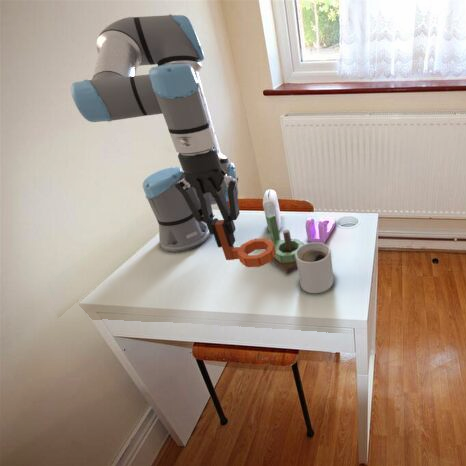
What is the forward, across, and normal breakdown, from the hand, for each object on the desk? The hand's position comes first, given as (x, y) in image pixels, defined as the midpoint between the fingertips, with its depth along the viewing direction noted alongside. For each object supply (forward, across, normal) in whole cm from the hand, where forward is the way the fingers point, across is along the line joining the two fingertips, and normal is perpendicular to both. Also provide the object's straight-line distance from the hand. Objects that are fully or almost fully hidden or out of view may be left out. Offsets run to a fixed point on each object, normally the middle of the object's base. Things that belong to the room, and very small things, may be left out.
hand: (226, 243), depth 79 cm
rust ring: (+4, +5, 0) cm, 7 cm away
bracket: (+15, +20, +26) cm, 36 cm away
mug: (+14, +21, +2) cm, 25 cm away
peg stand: (+14, +12, +12) cm, 22 cm away
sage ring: (+13, +11, +13) cm, 21 cm away
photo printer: (+15, +3, +31) cm, 35 cm away
